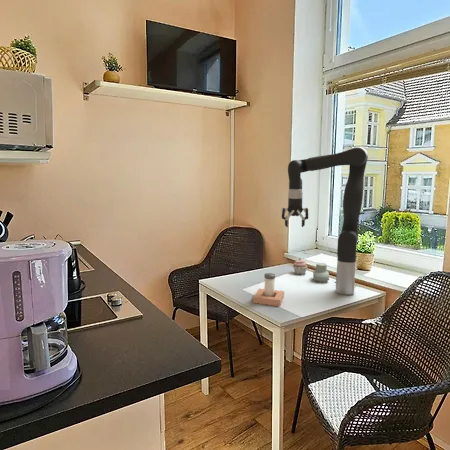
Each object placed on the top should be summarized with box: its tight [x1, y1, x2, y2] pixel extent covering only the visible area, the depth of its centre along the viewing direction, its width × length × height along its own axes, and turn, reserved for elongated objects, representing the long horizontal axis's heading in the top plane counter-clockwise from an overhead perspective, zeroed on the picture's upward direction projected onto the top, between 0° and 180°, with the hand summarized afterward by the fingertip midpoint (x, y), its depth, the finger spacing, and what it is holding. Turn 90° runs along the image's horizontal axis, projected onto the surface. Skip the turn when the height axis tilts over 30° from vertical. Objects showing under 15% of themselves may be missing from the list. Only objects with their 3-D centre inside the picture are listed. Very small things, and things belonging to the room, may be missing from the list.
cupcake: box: [292, 257, 309, 276], centre depth 226 cm, size 9×9×10 cm
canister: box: [264, 272, 276, 297], centre depth 182 cm, size 5×5×13 cm
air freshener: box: [312, 262, 330, 283], centre depth 213 cm, size 11×8×10 cm
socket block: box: [253, 288, 285, 307], centre depth 182 cm, size 13×13×3 cm
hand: (294, 226), depth 202 cm, fingers open, 8 cm apart
